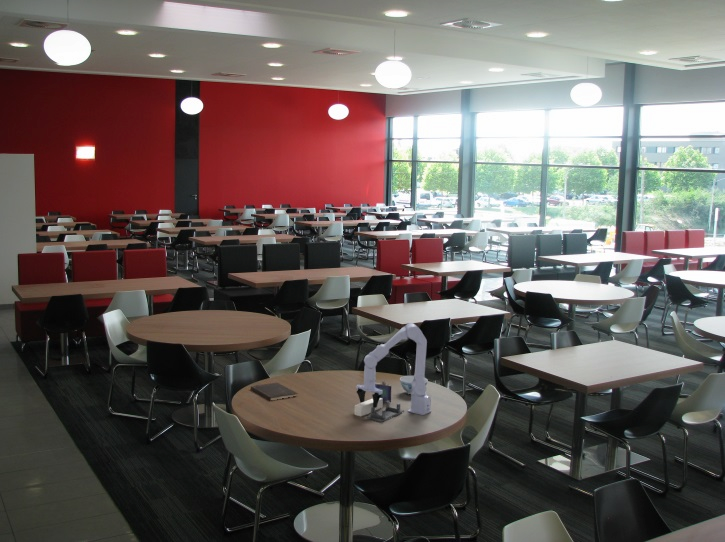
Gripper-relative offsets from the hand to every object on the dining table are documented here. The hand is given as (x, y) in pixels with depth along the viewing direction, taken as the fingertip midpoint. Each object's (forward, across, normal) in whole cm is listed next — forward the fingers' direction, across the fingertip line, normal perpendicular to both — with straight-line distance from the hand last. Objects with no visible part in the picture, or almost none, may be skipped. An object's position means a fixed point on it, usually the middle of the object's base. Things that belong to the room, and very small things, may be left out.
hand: (368, 405), depth 361 cm
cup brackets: (+3, +10, 0) cm, 10 cm away
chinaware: (+3, +1, +41) cm, 41 cm away
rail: (+3, 0, 0) cm, 3 cm away
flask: (+3, -4, +19) cm, 19 cm away
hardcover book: (+4, -56, -8) cm, 56 cm away
